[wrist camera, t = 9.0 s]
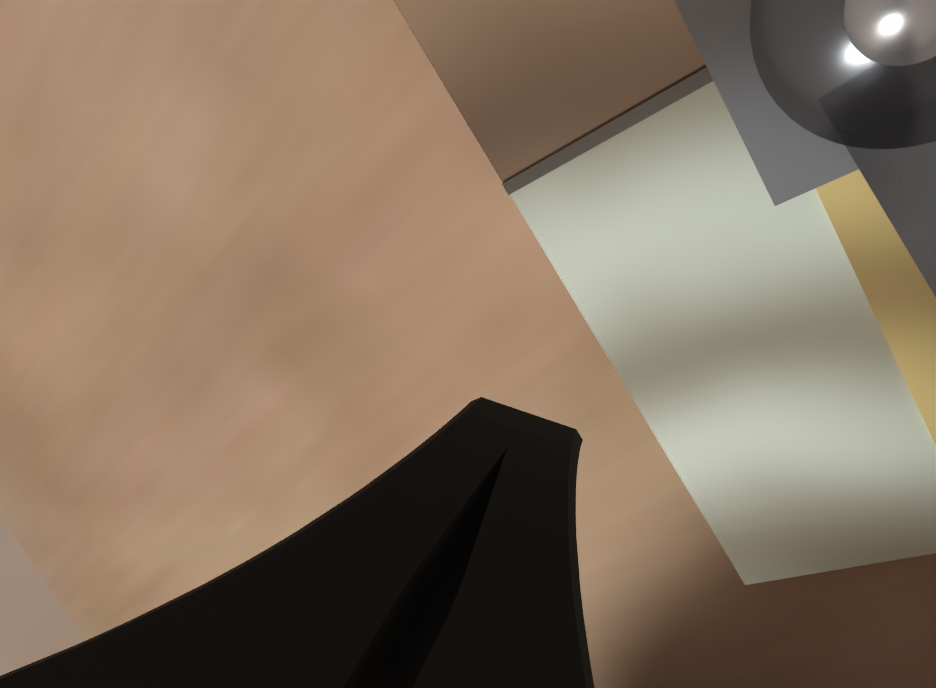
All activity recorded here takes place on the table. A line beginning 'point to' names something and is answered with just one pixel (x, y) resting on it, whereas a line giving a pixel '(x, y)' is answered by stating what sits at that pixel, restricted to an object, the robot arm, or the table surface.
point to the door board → (714, 266)
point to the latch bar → (863, 96)
